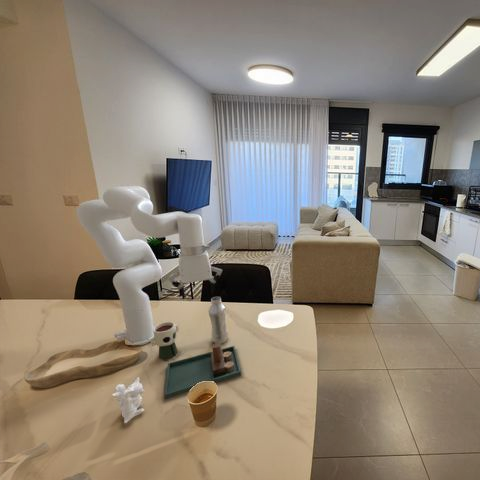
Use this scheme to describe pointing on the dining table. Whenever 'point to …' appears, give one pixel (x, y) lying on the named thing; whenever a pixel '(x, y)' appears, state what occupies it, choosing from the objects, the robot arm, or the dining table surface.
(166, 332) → the character mug
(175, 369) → the tray
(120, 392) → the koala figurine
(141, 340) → the robot arm
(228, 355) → the crumb
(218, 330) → the plastic bottle
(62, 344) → the dining table surface
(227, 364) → the crumb
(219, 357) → the brush
